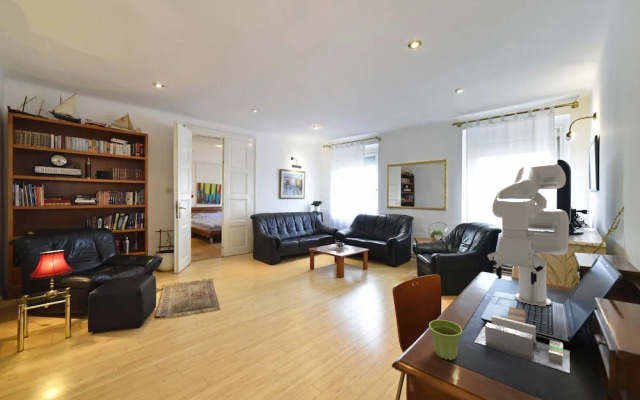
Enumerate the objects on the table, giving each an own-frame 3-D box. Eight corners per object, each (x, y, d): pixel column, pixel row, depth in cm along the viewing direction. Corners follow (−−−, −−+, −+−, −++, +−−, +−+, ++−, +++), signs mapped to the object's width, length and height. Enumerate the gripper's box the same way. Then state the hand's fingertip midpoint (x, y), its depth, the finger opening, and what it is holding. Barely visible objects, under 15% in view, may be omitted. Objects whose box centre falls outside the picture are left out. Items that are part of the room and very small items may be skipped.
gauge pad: (492, 328, 94) (492, 315, 94) (560, 347, 81) (560, 332, 81) (492, 330, 93) (491, 316, 93) (560, 350, 80) (560, 334, 80)
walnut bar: (509, 319, 102) (509, 306, 101) (525, 322, 98) (525, 309, 98) (507, 332, 92) (506, 318, 92) (525, 337, 89) (524, 322, 89)
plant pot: (470, 361, 77) (469, 332, 77) (441, 366, 76) (440, 337, 76) (449, 343, 87) (448, 318, 86) (423, 347, 85) (422, 321, 85)
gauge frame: (483, 327, 96) (483, 310, 96) (569, 351, 80) (569, 331, 80) (474, 342, 87) (474, 324, 87) (569, 373, 71) (569, 351, 71)
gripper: (547, 234, 91) (547, 283, 91) (489, 231, 103) (490, 273, 103) (545, 237, 86) (546, 289, 86) (484, 233, 98) (485, 278, 98)
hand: (515, 280), depth 95 cm, fingers open, 9 cm apart
